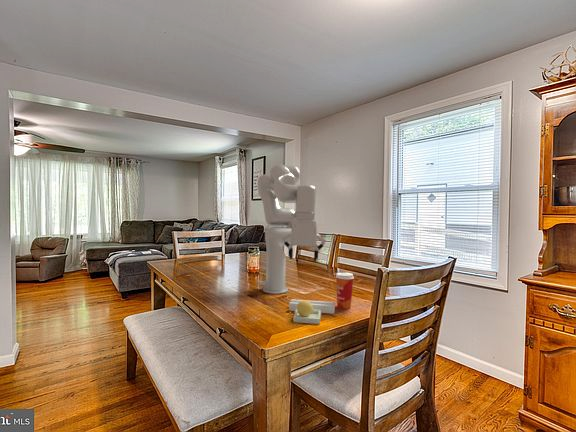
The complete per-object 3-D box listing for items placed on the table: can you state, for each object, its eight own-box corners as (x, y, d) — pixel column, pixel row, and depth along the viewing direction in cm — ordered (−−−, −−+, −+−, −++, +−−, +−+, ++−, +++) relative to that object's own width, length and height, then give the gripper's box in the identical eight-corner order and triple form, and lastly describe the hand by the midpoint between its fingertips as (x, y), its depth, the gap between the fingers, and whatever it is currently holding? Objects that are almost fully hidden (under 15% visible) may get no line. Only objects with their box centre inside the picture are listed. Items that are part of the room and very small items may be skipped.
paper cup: (332, 304, 130) (333, 272, 130) (350, 303, 131) (351, 272, 130) (337, 310, 122) (338, 276, 122) (355, 310, 123) (356, 276, 122)
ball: (299, 321, 110) (293, 306, 110) (301, 315, 116) (295, 301, 116) (314, 316, 109) (308, 301, 109) (315, 310, 115) (309, 296, 115)
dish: (293, 322, 109) (293, 317, 109) (296, 312, 118) (296, 308, 118) (319, 324, 107) (319, 319, 107) (320, 314, 117) (321, 310, 117)
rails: (289, 310, 121) (289, 303, 121) (291, 306, 126) (291, 299, 126) (334, 313, 118) (334, 306, 118) (334, 309, 123) (334, 302, 123)
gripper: (281, 216, 116) (280, 259, 117) (326, 218, 113) (324, 263, 114) (284, 215, 123) (283, 256, 124) (327, 217, 121) (325, 259, 122)
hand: (303, 259), depth 119 cm, fingers open, 9 cm apart
